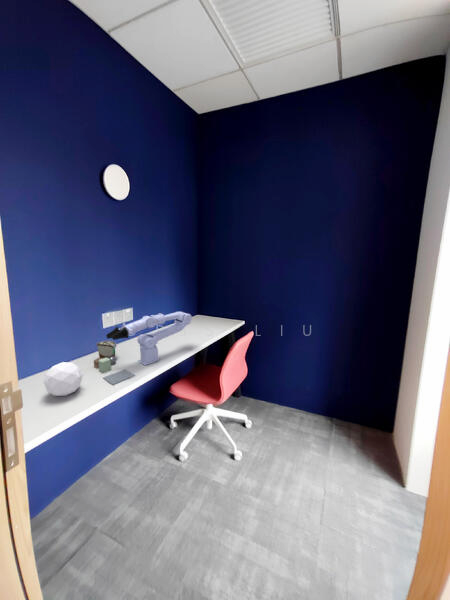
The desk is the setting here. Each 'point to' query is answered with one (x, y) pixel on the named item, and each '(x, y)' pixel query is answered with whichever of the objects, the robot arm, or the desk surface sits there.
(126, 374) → the mat
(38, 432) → the desk surface
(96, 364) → the walnut cube
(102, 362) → the green block
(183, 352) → the desk surface
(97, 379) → the desk surface
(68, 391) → the geometric shape
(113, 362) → the metal cylinder
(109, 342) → the food container
